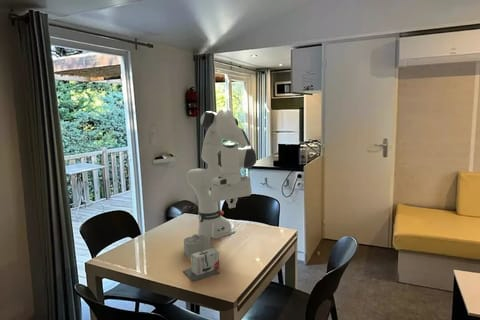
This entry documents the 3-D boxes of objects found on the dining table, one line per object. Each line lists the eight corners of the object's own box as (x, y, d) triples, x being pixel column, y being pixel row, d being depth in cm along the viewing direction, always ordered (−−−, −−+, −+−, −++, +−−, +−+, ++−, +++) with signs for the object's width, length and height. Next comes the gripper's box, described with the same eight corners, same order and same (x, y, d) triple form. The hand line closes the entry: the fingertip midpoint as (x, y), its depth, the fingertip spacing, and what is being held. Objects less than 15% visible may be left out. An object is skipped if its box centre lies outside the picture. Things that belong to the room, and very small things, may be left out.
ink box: (219, 268, 155) (196, 276, 148) (214, 264, 159) (191, 272, 153) (219, 250, 154) (195, 257, 147) (213, 247, 158) (190, 254, 151)
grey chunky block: (183, 251, 178) (182, 235, 176) (207, 247, 182) (207, 231, 181) (187, 259, 168) (186, 242, 167) (213, 254, 172) (212, 238, 171)
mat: (208, 264, 161) (208, 263, 161) (219, 273, 152) (219, 272, 152) (183, 271, 154) (183, 270, 154) (193, 281, 145) (193, 280, 145)
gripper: (246, 174, 164) (247, 202, 166) (208, 180, 154) (209, 209, 156) (253, 176, 159) (254, 205, 161) (214, 182, 148) (216, 213, 150)
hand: (232, 207), depth 158 cm, fingers closed
